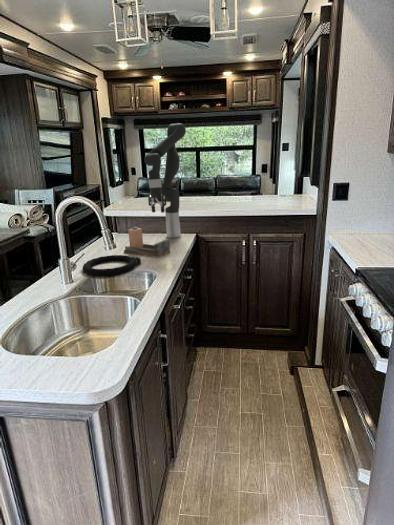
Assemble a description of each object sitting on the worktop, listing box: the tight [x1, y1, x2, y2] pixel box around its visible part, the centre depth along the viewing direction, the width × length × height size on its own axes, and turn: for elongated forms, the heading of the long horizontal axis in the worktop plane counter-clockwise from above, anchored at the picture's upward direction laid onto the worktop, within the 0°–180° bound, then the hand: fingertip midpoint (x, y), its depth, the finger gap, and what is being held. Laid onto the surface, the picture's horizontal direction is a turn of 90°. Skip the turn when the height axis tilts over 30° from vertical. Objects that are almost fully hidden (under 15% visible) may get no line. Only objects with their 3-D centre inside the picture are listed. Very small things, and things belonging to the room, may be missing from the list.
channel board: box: [123, 239, 171, 258], centre depth 207 cm, size 12×25×8 cm, turn 60°
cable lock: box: [82, 254, 142, 277], centre depth 183 cm, size 28×4×30 cm
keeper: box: [128, 226, 144, 248], centre depth 209 cm, size 6×5×13 cm
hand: (158, 212), depth 225 cm, fingers open, 8 cm apart
